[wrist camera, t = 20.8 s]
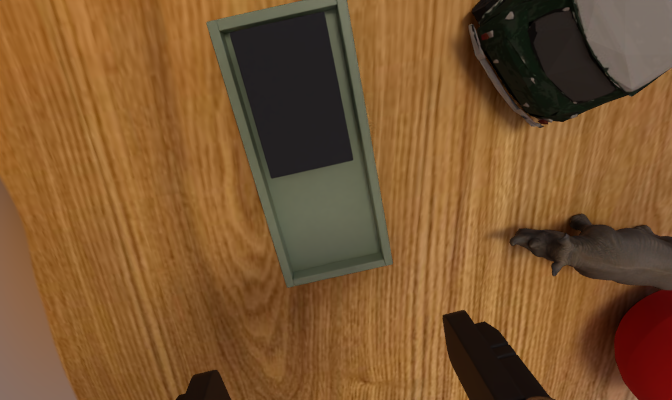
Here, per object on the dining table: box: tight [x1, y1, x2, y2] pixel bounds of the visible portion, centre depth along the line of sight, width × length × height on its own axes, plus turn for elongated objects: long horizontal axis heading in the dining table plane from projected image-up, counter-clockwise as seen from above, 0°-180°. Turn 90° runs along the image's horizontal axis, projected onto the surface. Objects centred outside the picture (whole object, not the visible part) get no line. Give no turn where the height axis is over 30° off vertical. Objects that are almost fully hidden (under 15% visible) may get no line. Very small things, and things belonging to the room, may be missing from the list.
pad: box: [230, 12, 353, 179], centre depth 21 cm, size 5×8×4 cm, turn 12°
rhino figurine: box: [510, 214, 672, 290], centre depth 26 cm, size 4×14×6 cm, turn 81°
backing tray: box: [206, 0, 393, 288], centre depth 24 cm, size 8×18×2 cm, turn 12°
